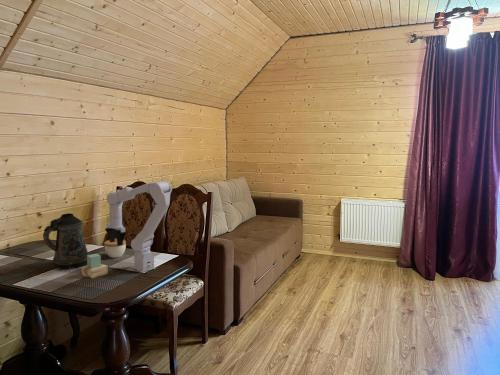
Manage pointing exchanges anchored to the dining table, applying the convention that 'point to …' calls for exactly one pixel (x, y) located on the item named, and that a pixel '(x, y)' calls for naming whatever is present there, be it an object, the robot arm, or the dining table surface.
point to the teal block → (93, 260)
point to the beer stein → (67, 242)
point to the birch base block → (94, 271)
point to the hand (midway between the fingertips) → (116, 243)
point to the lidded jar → (114, 248)
